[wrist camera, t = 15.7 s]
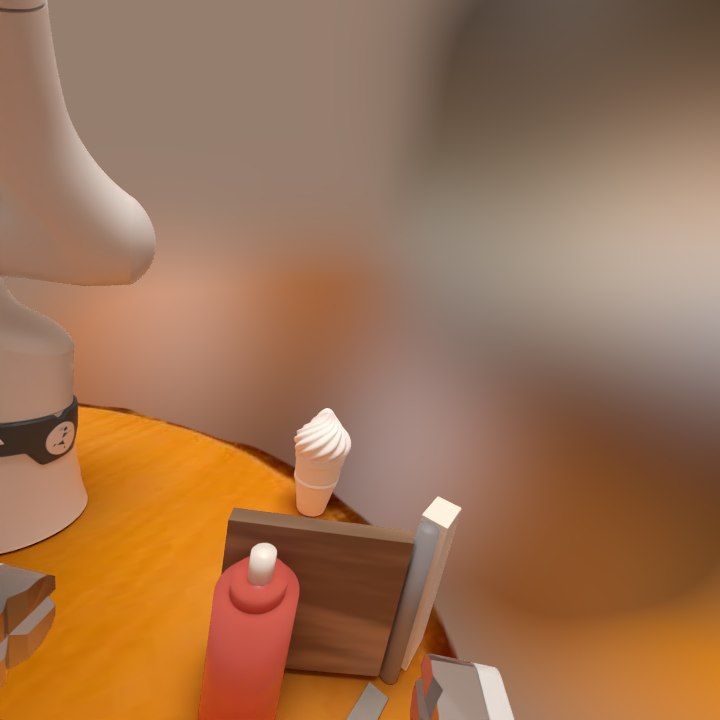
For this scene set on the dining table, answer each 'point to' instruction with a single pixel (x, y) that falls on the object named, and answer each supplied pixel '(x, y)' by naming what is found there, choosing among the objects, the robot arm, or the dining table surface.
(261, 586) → the ketchup bottle
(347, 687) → the dining table surface
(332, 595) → the door
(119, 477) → the dining table surface
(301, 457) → the soft serve ice cream cone
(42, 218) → the robot arm
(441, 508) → the white-tipped grey slat
